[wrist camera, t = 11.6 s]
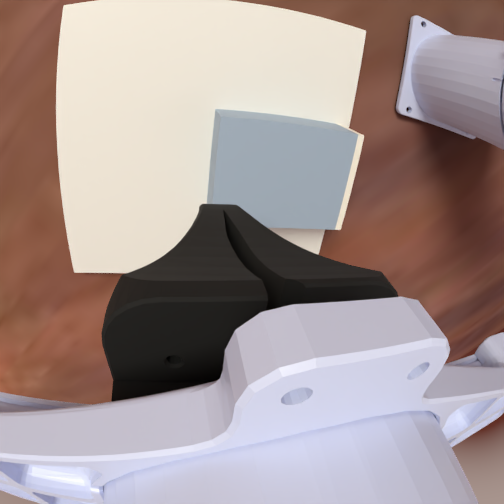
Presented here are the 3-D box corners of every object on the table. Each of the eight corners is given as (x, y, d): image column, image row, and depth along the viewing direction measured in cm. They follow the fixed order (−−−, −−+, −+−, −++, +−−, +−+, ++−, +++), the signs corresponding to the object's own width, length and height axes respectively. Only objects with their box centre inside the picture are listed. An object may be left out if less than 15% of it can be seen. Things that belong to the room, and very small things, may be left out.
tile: (358, 31, 16) (366, 30, 15) (309, 264, 26) (313, 271, 25) (69, 7, 12) (63, 5, 11) (77, 264, 21) (74, 272, 21)
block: (215, 108, 17) (341, 124, 19) (206, 204, 20) (322, 208, 22) (220, 116, 14) (364, 135, 16) (210, 226, 18) (340, 229, 19)
